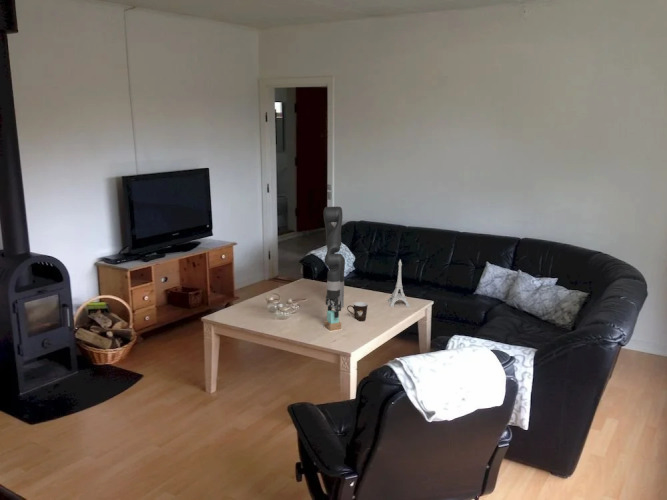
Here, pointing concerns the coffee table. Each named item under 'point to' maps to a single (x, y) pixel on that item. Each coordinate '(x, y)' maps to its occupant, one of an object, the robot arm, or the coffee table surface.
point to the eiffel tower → (395, 294)
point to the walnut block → (332, 326)
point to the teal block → (332, 317)
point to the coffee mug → (359, 311)
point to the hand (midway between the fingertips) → (333, 315)
